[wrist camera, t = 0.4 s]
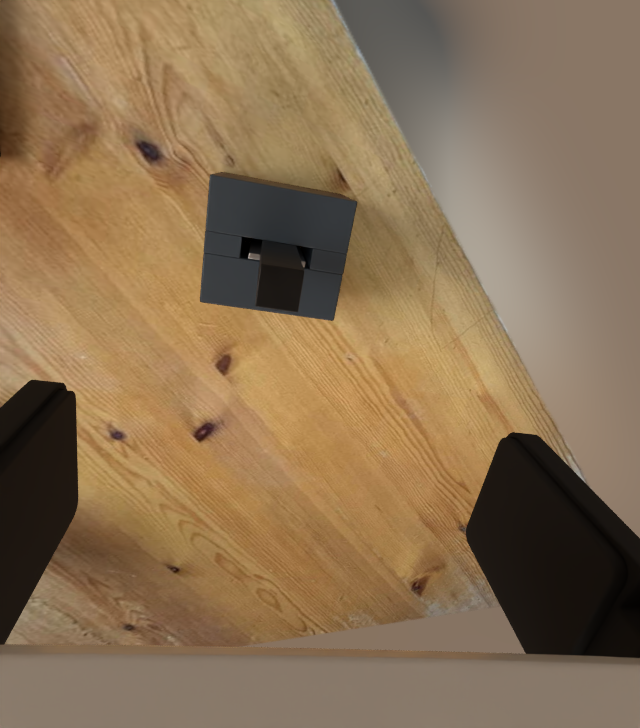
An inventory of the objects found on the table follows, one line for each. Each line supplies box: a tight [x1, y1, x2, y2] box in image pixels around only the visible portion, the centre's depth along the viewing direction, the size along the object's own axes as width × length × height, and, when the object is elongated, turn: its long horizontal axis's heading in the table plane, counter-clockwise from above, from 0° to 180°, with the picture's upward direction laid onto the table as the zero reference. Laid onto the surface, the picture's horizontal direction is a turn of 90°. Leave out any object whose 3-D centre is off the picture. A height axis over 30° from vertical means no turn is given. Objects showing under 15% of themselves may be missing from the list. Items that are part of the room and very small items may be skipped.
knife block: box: [200, 172, 357, 321], centre depth 29 cm, size 7×8×6 cm
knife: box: [248, 238, 305, 312], centre depth 25 cm, size 2×3×14 cm, turn 80°
